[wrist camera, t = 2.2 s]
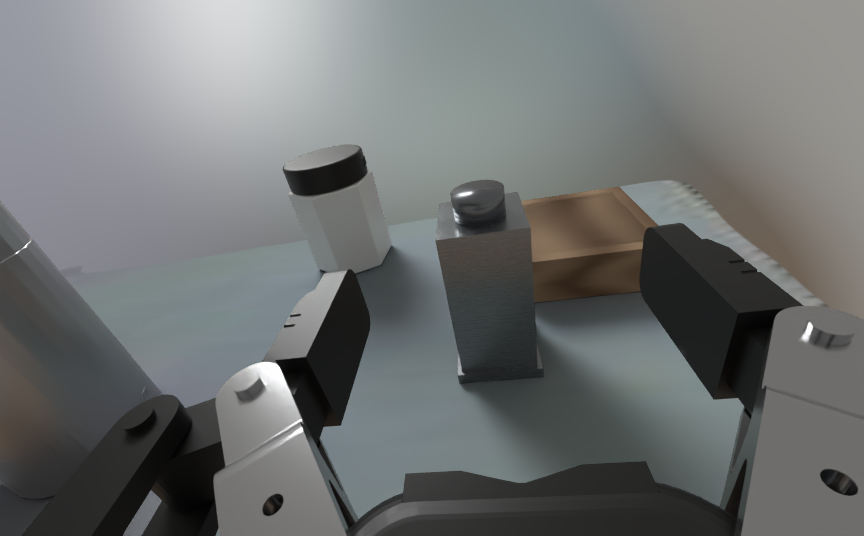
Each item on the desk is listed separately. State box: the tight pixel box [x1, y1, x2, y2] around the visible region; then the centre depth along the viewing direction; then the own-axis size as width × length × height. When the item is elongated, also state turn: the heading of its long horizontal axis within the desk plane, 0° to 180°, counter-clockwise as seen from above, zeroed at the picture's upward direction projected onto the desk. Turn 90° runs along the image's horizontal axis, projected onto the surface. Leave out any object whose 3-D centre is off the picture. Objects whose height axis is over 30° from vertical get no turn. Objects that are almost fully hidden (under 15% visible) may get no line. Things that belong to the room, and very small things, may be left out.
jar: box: [283, 145, 392, 274], centre depth 41 cm, size 9×8×12 cm
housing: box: [436, 180, 544, 383], centre depth 24 cm, size 6×6×12 cm
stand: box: [521, 187, 658, 303], centre depth 35 cm, size 12×12×4 cm
